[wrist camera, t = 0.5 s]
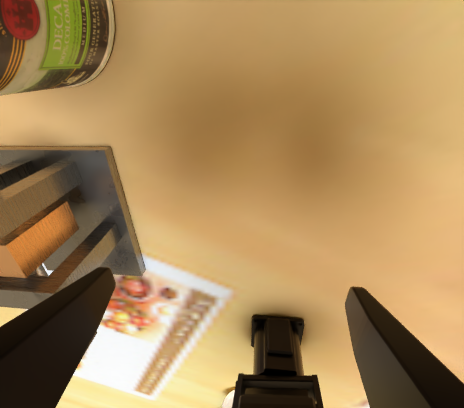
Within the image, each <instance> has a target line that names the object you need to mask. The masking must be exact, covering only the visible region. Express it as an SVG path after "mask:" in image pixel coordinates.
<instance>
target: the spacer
mask: <svg viewBox="0 0 464 408" xmlns="http://www.w3.org/2000/svg"><path fill="white" fill-rule="evenodd" d="M77 230H79V227H78V224H77V222H76V220H75V217H74V215H73V213H72V210H71V208H70V206H69V203H68V201H60V200H56V201H55V202H53V203H52V204H50V205H49V206H47V207H46V208H44V209H43V210H42V211H40V212H39V213H37V214H36V215H34V216H33V217H31V218H30V219H29V220H27V221H26V222H24V223H23V224H21V225H20V226H19V227H18V228H16V229H15V230H13V231H12V232H11V233H9V234H7V235H5V236H4V237H2V238H1V239H0V276H3V277H18V278H27V277H28V276H29V275H30V274H31V273H32V272H33V271H35V270H36V269H37V268H38V267H39V266H40V265H41V264H42V263H43V262H44V261H45V260H46V259H47V258H48V257H50V256H51V255H52V254H53V253H54V252H55V251H56V250H57V249H58V248H59V247H60V246H61V245H62V244H63V243H65V242H66V241H67V240H68V239H69V238H70V237H71V236H72V235H73V234H74V233H75V232H76V231H77Z"/></svg>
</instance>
